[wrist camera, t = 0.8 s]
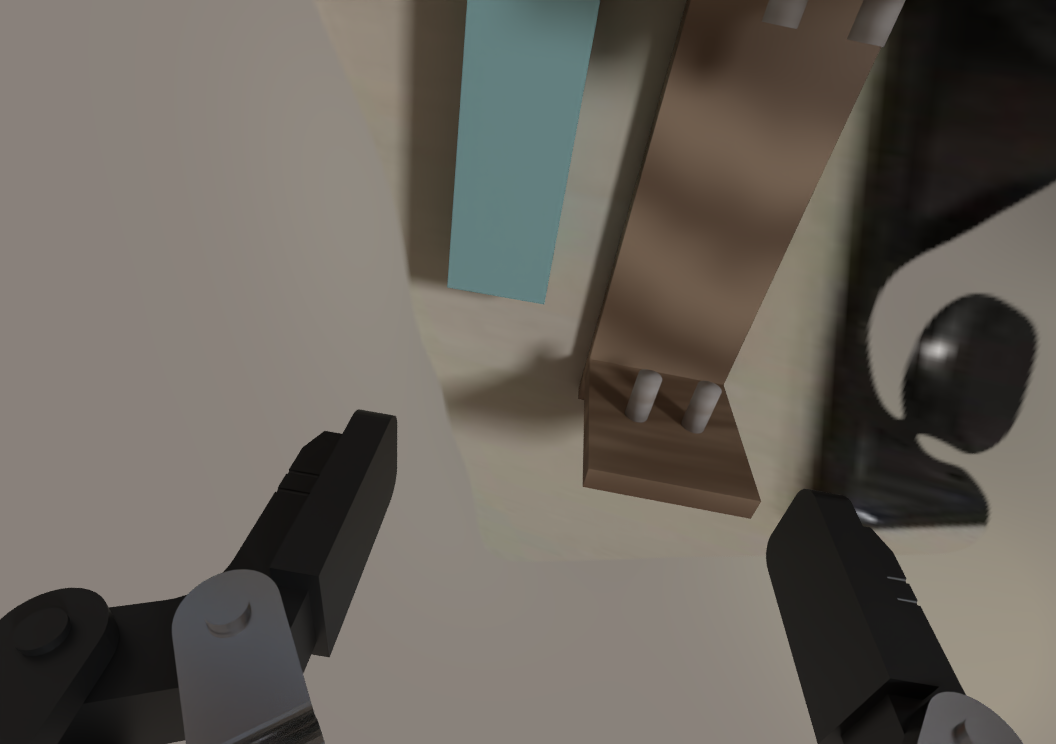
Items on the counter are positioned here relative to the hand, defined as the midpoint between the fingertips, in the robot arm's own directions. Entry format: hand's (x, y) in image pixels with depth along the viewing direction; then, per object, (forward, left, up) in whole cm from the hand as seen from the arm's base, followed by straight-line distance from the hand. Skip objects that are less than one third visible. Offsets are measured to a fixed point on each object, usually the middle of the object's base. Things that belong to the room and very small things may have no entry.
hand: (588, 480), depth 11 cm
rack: (0, +6, -20) cm, 21 cm away
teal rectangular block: (-3, -4, -21) cm, 21 cm away
